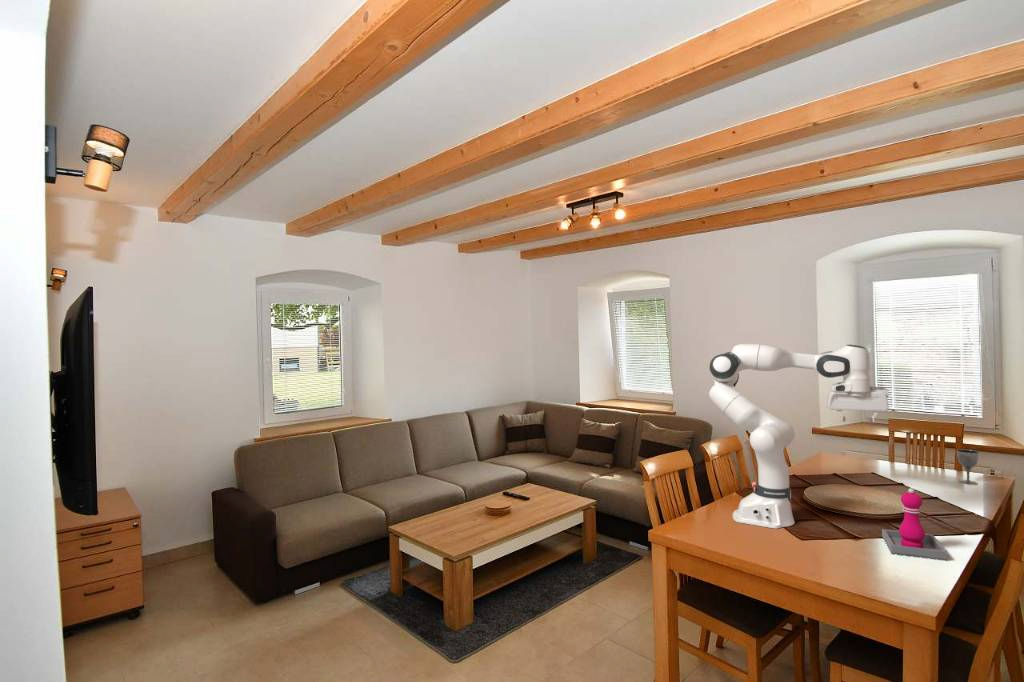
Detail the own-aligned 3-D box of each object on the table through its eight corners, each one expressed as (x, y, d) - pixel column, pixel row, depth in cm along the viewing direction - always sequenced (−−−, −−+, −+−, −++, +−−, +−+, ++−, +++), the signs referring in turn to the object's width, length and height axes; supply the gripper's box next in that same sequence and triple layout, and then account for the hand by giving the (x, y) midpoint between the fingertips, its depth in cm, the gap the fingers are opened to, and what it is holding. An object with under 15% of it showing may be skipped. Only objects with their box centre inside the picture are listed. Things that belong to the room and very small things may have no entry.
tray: (891, 554, 182) (891, 545, 182) (881, 536, 197) (881, 529, 197) (947, 560, 176) (946, 552, 176) (932, 542, 191) (932, 534, 191)
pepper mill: (929, 551, 182) (929, 491, 182) (905, 549, 184) (904, 491, 183) (918, 542, 190) (917, 485, 189) (895, 541, 191) (894, 485, 190)
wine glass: (964, 484, 253) (963, 452, 253) (953, 480, 261) (952, 449, 261) (983, 485, 252) (983, 453, 252) (972, 480, 260) (971, 449, 259)
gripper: (886, 385, 210) (887, 421, 210) (826, 385, 218) (826, 419, 219) (890, 387, 204) (891, 424, 205) (827, 386, 213) (828, 422, 213)
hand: (857, 421), depth 212 cm, fingers open, 8 cm apart
